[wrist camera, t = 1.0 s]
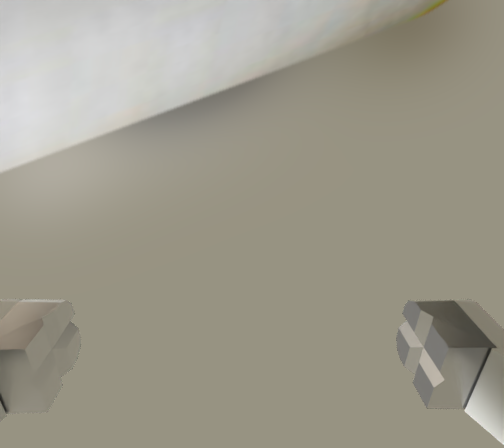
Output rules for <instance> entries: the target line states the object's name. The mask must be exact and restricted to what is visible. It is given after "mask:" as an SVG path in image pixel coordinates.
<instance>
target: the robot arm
mask: <svg viewBox="0 0 504 448" xmlns="http://www.w3.org/2000/svg"><path fill="white" fill-rule="evenodd" d="M402 314H403V315H404V317H405V318H406V320H407V321H406V322H404V323H403V324H402V325H401V326H400V327H399V328H398V333H397V338H396V341H397V351H398V354H399V357H400V360H401V361H402V363H403V365H404V367H405V368H407V369H408V370H409V371H411V372H412V373H413V374H415V376H414V380H413V384H414V386H415V388H416V390H417V391H418V393H419V395H420V397H421V399H422V401H423V402H424V404H425V406H426V408H427V409H465V412H466V413H467V414H468V415H470V416H471V417H472V418H473V419H474V420H475V421H476V422H478V423H479V424H480V425H481V426H482V427H483V428H485V429H486V430H487V431H488V432H489V433H490V434H492V435H493V436H494V437H495V438H496V439H497V440H499V441H500V442H501V443H502V444H503V445H504V329H503V328H502V327H501V326H500V325H499V324H498V323H497V322H496V321H495V320H494V319H493V318H492V317H491V316H490V315H489V314H488V313H487V312H486V311H485V310H484V309H483V308H482V307H481V306H480V305H479V304H478V303H477V302H475V301H473V300H471V299H454V300H419V301H418V300H416V301H415V300H409V301H408V302H407V303H406V304H405V306H404V310H403V313H402ZM74 315H75V312H74V310H73V306H72V303H71V302H69V301H67V300H38V299H36V300H35V299H25V300H22V299H2V300H0V421H1V420H3V419H4V418H5V417H6V416H7V415H6V414H15V413H42V412H48V411H49V409H50V407H51V405H52V404H53V402H54V400H55V398H56V397H57V395H58V393H59V391H60V390H61V388H62V386H63V384H62V380H61V377H62V376H63V375H64V374H66V373H67V372H69V371H70V370H71V369H72V368H73V366H74V364H75V363H76V361H77V359H78V355H79V351H80V347H81V336H80V332H79V328H78V327H77V326H75V325H74V324H73V323H72V322H71V319H72V318H73V316H74Z"/></svg>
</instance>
